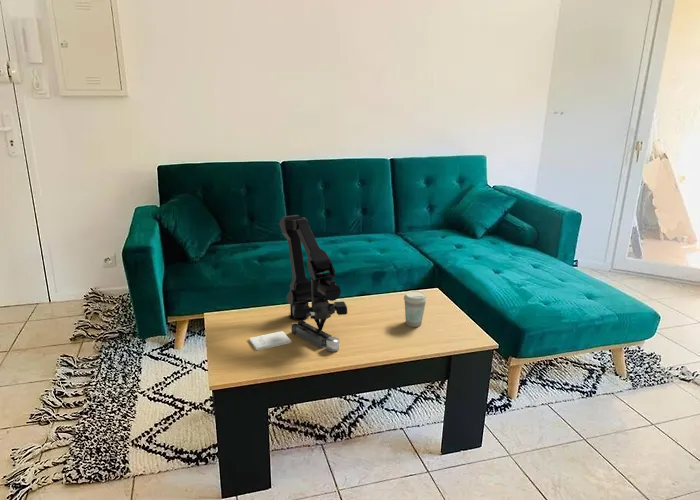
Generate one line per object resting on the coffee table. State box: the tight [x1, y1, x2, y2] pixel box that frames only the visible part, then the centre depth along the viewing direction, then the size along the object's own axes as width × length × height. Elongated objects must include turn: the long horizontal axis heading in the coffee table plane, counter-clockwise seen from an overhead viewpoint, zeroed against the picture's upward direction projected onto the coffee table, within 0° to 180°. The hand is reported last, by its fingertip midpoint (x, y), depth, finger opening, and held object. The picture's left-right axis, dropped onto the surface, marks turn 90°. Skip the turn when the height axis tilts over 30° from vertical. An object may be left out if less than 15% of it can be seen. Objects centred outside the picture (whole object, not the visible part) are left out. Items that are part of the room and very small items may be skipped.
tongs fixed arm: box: [291, 323, 326, 349], centre depth 185 cm, size 16×2×3 cm, turn 45°
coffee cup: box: [403, 290, 428, 328], centre depth 198 cm, size 8×8×12 cm
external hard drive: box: [248, 330, 292, 351], centre depth 184 cm, size 2×8×12 cm
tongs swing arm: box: [296, 320, 340, 352], centre depth 184 cm, size 21×5×3 cm, turn 46°
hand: (320, 331), depth 188 cm, fingers closed
